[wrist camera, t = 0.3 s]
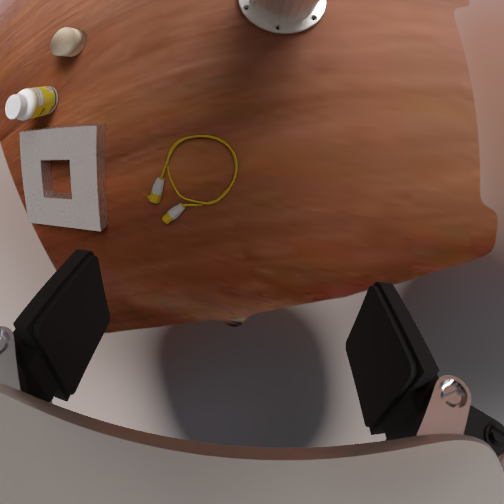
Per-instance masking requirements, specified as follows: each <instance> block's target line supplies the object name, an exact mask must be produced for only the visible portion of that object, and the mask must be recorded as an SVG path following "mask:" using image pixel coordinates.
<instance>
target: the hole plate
mask: <svg viewBox="0 0 504 504" xmlns="http://www.w3.org/2000/svg"><path fill="white" fill-rule="evenodd" d="M105 127H106V124H82V125H67V126H55V127H45V128H36V129H29V130H25V131H22V132H20V152H21V166H22V177H23V186H24V194H25V201H26V208H27V214H28V220H29V222H30V223H36V224H45V225H53V226H61V227H69V228H77V229H85V230H93V231H102V230H103V229H104V228H105V227H106V226H107V225H108V216H107V201H106V180H105ZM50 160H70V176H71V190H72V193H64V192H53V188H52V177H51V163H50Z"/></svg>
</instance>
